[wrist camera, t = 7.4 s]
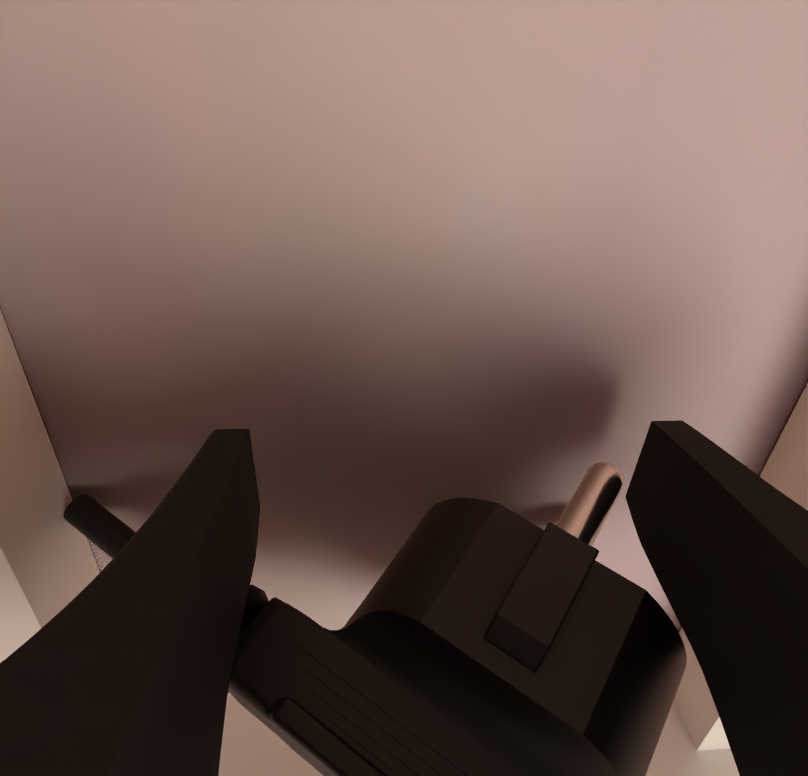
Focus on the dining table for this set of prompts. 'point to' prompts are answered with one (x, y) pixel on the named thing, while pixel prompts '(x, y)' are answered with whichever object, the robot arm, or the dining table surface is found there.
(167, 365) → the dining table surface
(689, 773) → the socket dock
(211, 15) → the dining table surface
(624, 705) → the power plug
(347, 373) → the dining table surface
